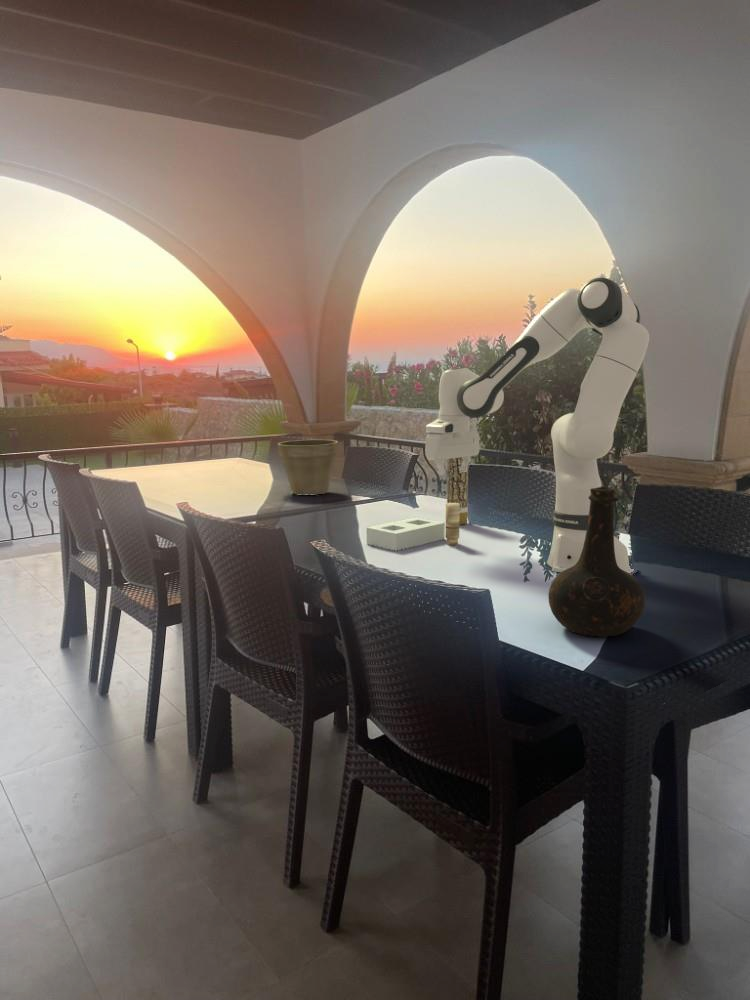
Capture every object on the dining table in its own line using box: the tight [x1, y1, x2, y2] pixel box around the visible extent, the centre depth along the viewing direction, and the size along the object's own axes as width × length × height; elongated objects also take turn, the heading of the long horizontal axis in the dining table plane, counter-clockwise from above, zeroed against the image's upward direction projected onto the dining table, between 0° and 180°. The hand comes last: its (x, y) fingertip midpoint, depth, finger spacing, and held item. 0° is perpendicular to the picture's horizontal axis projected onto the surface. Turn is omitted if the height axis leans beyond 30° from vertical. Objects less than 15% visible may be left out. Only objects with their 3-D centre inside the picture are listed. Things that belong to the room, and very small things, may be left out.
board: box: [366, 517, 446, 552], centre depth 217 cm, size 12×21×5 cm, turn 134°
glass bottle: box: [547, 486, 646, 638], centre depth 140 cm, size 18×18×28 cm
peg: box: [445, 502, 460, 546], centre depth 212 cm, size 4×4×12 cm
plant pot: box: [277, 439, 339, 495], centre depth 304 cm, size 25×25×22 cm
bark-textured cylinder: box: [446, 457, 469, 526], centre depth 240 cm, size 7×7×25 cm
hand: (453, 473), depth 210 cm, fingers open, 8 cm apart
